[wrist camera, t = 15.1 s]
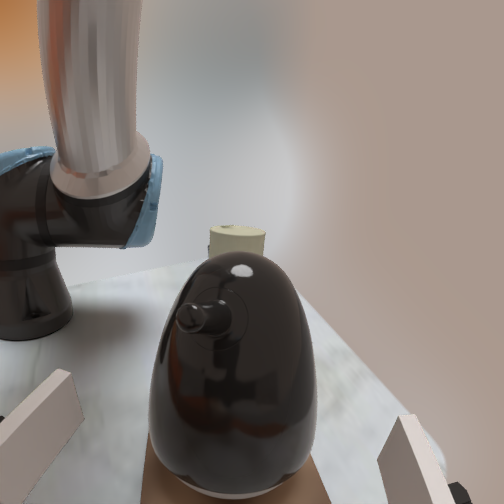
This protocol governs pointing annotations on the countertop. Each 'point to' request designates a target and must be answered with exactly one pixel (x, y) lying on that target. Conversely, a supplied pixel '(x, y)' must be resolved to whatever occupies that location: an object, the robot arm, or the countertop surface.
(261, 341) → the pump dispenser
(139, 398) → the countertop surface
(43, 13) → the robot arm
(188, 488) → the walnut board
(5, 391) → the countertop surface
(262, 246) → the can
